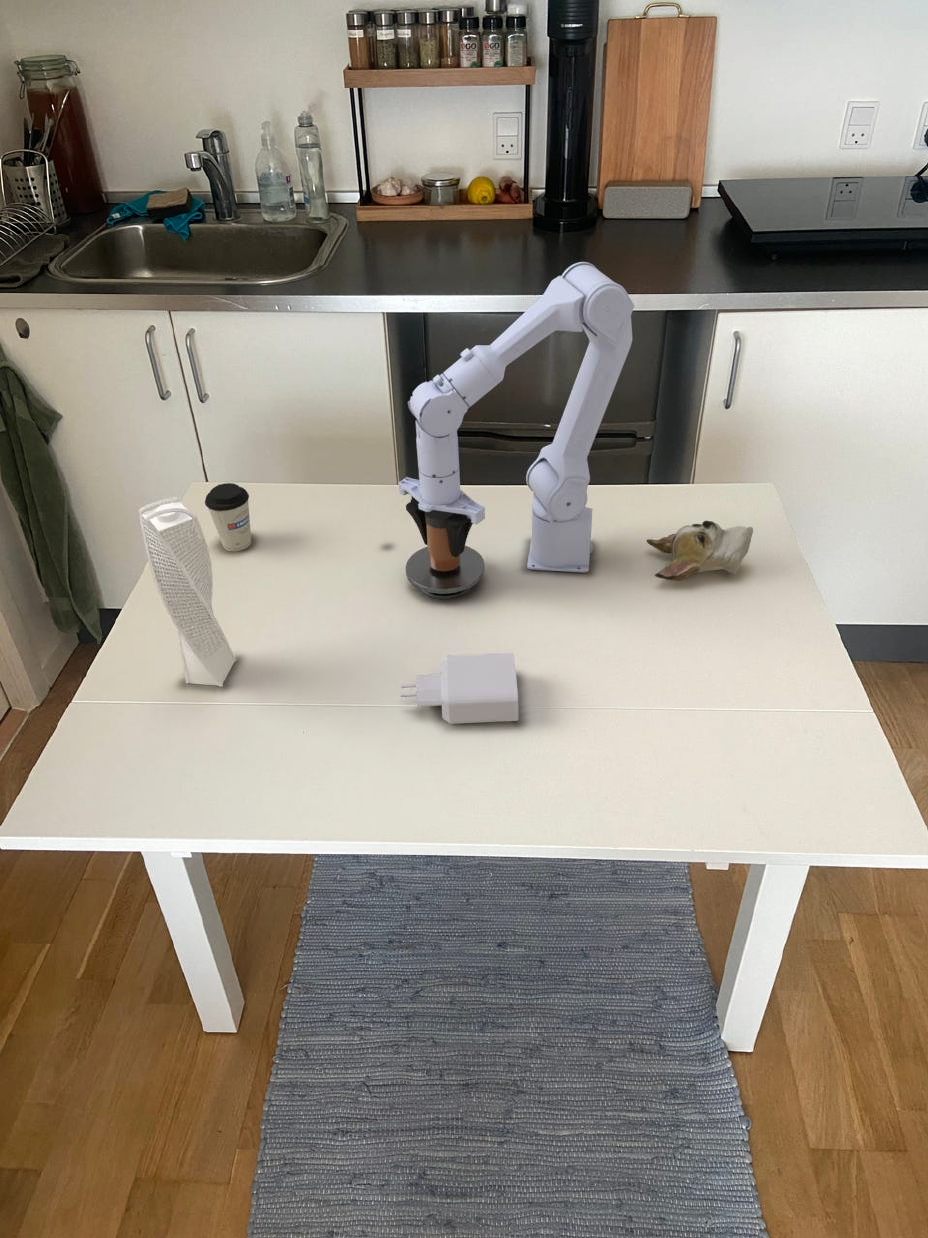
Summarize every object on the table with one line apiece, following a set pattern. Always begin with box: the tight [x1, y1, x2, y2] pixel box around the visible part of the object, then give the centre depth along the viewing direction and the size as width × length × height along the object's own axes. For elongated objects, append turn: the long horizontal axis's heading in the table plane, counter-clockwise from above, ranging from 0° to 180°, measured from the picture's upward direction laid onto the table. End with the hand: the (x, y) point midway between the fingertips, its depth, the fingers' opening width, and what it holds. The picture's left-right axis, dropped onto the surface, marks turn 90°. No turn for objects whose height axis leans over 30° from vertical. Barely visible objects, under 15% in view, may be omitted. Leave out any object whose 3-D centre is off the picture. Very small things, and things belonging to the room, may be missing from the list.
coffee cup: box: [204, 482, 252, 552], centre depth 151 cm, size 7×7×10 cm
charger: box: [400, 652, 519, 725], centre depth 121 cm, size 5×9×15 cm
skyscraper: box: [137, 496, 237, 688], centre depth 120 cm, size 8×8×28 cm
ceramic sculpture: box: [646, 520, 754, 582], centre depth 141 cm, size 11×9×15 cm
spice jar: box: [425, 510, 461, 571], centre depth 138 cm, size 5×5×9 cm
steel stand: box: [405, 545, 486, 600], centre depth 142 cm, size 12×12×3 cm
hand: (443, 547), depth 139 cm, fingers closed on spice jar, 5 cm apart
